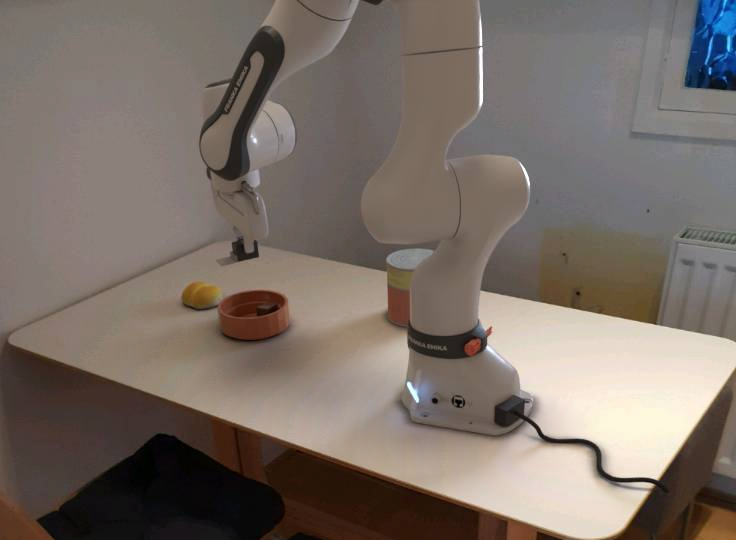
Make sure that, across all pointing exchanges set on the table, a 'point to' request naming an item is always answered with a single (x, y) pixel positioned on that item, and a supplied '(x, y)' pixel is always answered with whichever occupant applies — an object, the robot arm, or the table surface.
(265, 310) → the block
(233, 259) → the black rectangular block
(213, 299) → the bread roll
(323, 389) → the table surface
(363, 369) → the table surface
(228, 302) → the bowl
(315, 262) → the table surface
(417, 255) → the canned food
